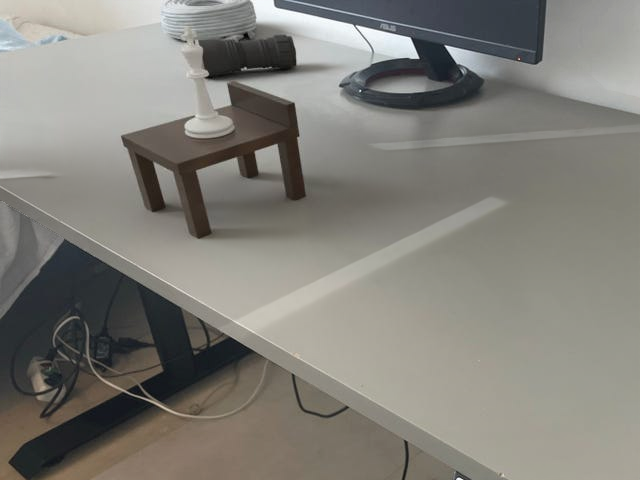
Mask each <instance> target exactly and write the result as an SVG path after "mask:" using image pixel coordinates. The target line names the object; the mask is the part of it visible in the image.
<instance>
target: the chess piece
mask: <svg viewBox="0 0 640 480" xmlns="http://www.w3.org/2000/svg"><path fill="white" fill-rule="evenodd" d="M184 32H185V34H183V35H181V39H180V40H181V41H184V42H185V41H186V45H184V46H182V47H181V48H180V51H181V54H182V55H183V57H184V59H185V60H186V63H187V65H188V66H189V68H190V70H188V71H187V72H186V78H188V79H193V85H194V93H195V101H196V103H195V104H196V113H194V115H195V118H193V119H191V120H189V121H187V122H186V123H185V126H184V127H185V129H186V130H185V134H186V135H188V136H190V137H193V138H200V139H207V138H216V137H221V136H224V135H227V134H229V133H231V132H232V131H233V130H234V128H235V127H234V125H233V121H232V120H231V119H230V118H228V117H226V116H222V115H218V112H217V111H215V108H214V105H213V103H212V100H211V97H210V94H209V91H208V88H207V85H206V82H205V79H204V78H207V76H208V75H209V73H208V71H207V70H203V69H202V68H201V66H202V55H203V48H202V47H201V46H199V45H196V44H195V41H193V38H194V37H197V35H196V32H194V31H192V32H191V28H190V26H184ZM208 77H209V76H208Z"/></svg>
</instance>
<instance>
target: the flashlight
mask: <svg viewBox="0 0 640 480" xmlns="http://www.w3.org/2000/svg"><path fill="white" fill-rule="evenodd" d="M194 44H195V45H199V46H201V47H202V48H203V55H202V66H201V68H202V69H203V70H207V71H208V73H209V75H208V76H207V77H218V76H224V75H227V74H229V73H232V74H233V73H241V72H242V70H244V69H247V70H252V69H253V70H254V69H270V68H271V69H279V70H288V69H289V70H290V69H292V68H293V67H296V66H297V62H298V61H297V60H298V59H297V49H296V47H295V43H294V39H293V37H292V36H291V35H287V34H274V35H273V36H272V37H266V38H257V39H250V40H241V42H240V41H239V42H235V40H234V39H232V40H230V39H229V40H225V41H223V40H218V39H206V40H195V41H194ZM207 77H206V78H207Z"/></svg>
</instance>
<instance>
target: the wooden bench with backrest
mask: <svg viewBox="0 0 640 480" xmlns="http://www.w3.org/2000/svg"><path fill="white" fill-rule="evenodd" d="M226 87H227V91H228V95H229V100H230V104H229V105H226V106H223V107H219V108H216V109H215V108H214V110H215V111H217V112H218V115H222V116H226V117H228V118H230V119H231V120H232V121H233V125H234V127H235V128H234V130H233V131H232V132H231V133H229V134H227V135H224V136H221V137H216V138H207V139H200V138H193V137H190V136H188V135H186V134H185V130H186V129H185V127H184V126H185V123H186V122H187V121H189V120H191V119H193V118H195V114H194V115H190V116H186V117H182V118H178V119H175V120H171V121H167V122H164V123H161V124H157V125H154V126H150V127H147V128H143V129H139V130H136V131H132V132H129V133H125V134H121V135H120V138H121V142H122V145H123V147H124V148H126V149H127V152H128V156H129V158H130V162H131V165H132V168H133V172H134V176H135V179H136V182H137V185H138V189H139V192H140V194H141V198H142V202H143V205H144V208H145V209H147V210H148V211H150V212H152V213H153V212H157V211H159V210H162V209H164V208H166V203H165V199H164V196H163V192H162V188H161V184H160V181H159V178H158V174H157V171H156V167H155V164H157V165H159V166H160V167H162V168H164V169H166V170H168V171H170V172H172V174H173V177H174V181H175V185H176V188H177V192H178V195H179V196H178V197H179V199H180V203H181V206H182V211H183V214H184V218H185V222H186V226H187V228H188V229H187V230H188V233H189V235H191V236H193V237H195V238H196V239H201V238H203V237H205V236H207V235H211V234H212V229H211V226H210V222H209V217H208V213H207V210H206V209H207V208H206V205H205V201H204V197H203V193H202V192H203V191H202V188H201V184H200V180H199V176H198V171H199V170H202V169H205V168H208V167H211V166H214V165H217V164H220V163H223V162H227V161H229V160H232V159H236V160H237V161H236V162H237V165H238V170H239V174H240V175H241V176H243V177H244V178H247V179H250V178H252V177H255V176H259V175H260V172H259V167H258V162H257V157H256V152H257V151H260V150H263V149H266V148H269V147H272V146H275V145H277V150H278V156H279V162H280V169H281V174H282V179H283V186H284V191H285V196H286V197H287V198H289V199H291V200H292V201H297V200H299V199H302V198H304V197H307V192H306V187H305V179H304V173H303V167H302V160H301V159H302V158H301V154H300V147H299V141H298V138H300V131H299V130H300V128H299V122H298V116H297V109H296V103H295V102H294V101H291V100H288V99H286V98H283V97H280V96H277V95H274V94H272V93H269V92H267V91H263V90H260V89H259V88H258V89H257V88H255V87H253V86H249V85H246V84H244V83H241V82H239V81H235V80H233V81H229V82H226Z"/></svg>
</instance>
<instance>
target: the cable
mask: <svg viewBox="0 0 640 480" xmlns="http://www.w3.org/2000/svg"><path fill="white" fill-rule="evenodd" d="M160 9H161V10H160V13H161V28H162V29H161V30H162V31H163V32H164V33H165V34H166V35H167V36H169V37H171V38H174V39H177V40H182V39H181V35H183V34H185V32H184V26H190V28H191V32H192V31H194V32H196V35H197V37H194V38H193V41H194V42H195V40H206V39H218V40H223V41H225V40H229V39H230V40H232V39H234V40H235V42H239V43H240V41H239V40H242V39H243V38H245V36H244V35H245V34H247V35H248V38H249V39H250V40H253V38H255V36H256V34H255V32H254V31H253V30H255V29H256V26H257V25H256V24H257V14H256V12H255V11H256V10H255V6H254V3H253V2H252V1H251V0H167V1H164V3H162V4H161V7H160Z"/></svg>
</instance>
